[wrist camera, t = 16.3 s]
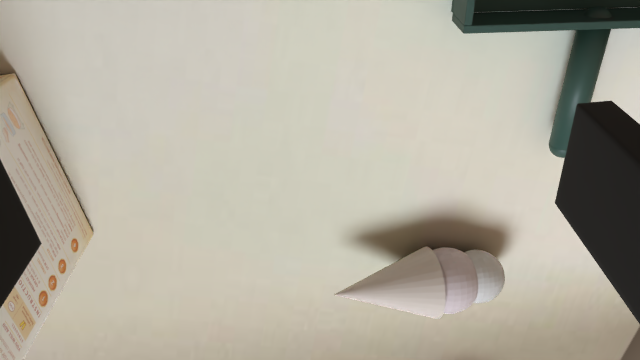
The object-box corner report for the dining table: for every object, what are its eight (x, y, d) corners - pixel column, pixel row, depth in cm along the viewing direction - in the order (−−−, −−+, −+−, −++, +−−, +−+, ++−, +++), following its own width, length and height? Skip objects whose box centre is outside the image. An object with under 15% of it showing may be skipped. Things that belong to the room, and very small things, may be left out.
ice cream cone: (323, 256, 46) (480, 238, 48) (331, 326, 45) (489, 304, 48) (336, 258, 40) (514, 237, 42) (345, 339, 39) (525, 312, 42)
